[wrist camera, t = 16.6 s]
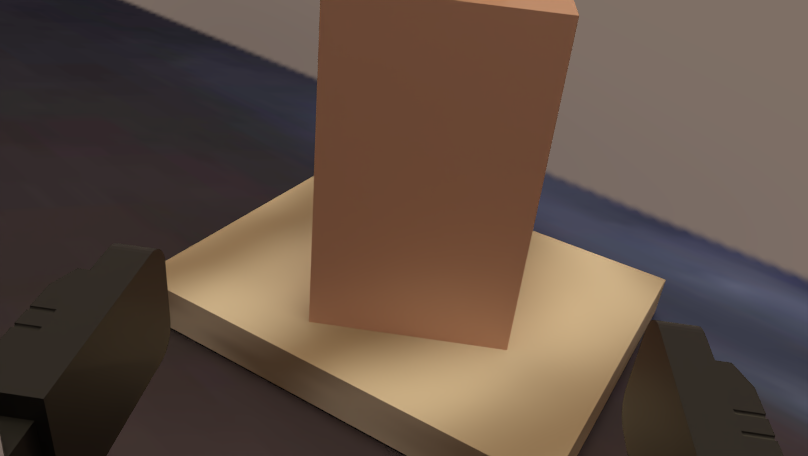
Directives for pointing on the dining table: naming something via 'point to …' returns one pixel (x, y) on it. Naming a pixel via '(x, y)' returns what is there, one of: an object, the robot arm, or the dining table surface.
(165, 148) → the dining table surface
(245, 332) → the shaft board
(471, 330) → the square capped bottle
